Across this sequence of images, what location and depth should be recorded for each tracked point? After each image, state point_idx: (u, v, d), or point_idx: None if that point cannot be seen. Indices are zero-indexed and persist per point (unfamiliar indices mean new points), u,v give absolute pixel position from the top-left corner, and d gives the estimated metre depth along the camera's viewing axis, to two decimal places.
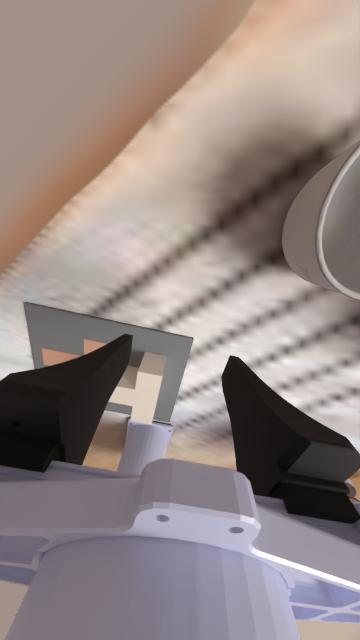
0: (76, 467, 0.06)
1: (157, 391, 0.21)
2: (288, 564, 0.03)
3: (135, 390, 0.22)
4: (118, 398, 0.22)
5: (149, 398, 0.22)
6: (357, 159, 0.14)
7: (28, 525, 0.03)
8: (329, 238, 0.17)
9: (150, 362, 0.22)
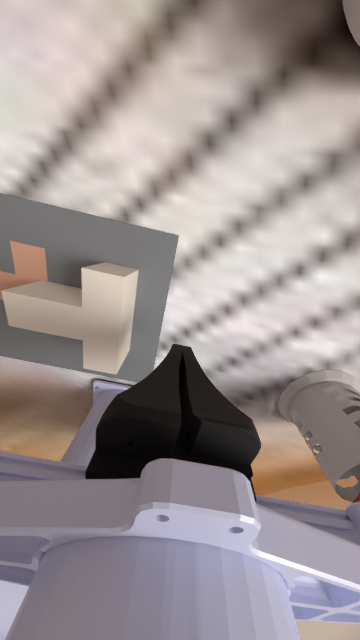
0: (76, 467, 0.06)
1: (118, 309, 0.13)
2: (288, 564, 0.03)
3: (83, 308, 0.13)
4: (58, 325, 0.14)
5: (107, 324, 0.14)
6: None
7: (28, 525, 0.03)
8: None
9: (109, 267, 0.14)
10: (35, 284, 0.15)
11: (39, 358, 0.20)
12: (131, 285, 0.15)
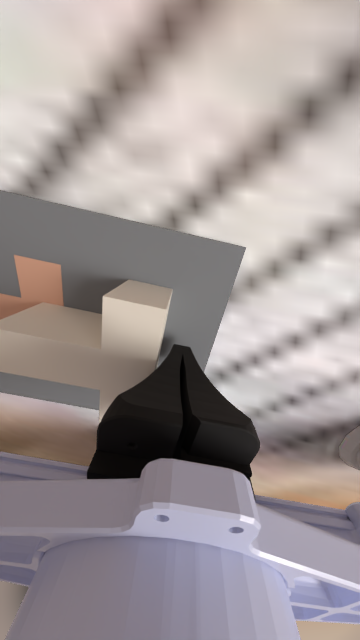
0: (76, 467, 0.06)
1: (153, 352, 0.09)
2: (288, 564, 0.03)
3: (102, 351, 0.09)
4: (66, 372, 0.10)
5: (136, 371, 0.10)
6: None
7: (28, 525, 0.03)
8: None
9: (138, 290, 0.10)
10: (35, 309, 0.11)
11: (50, 395, 0.17)
12: None
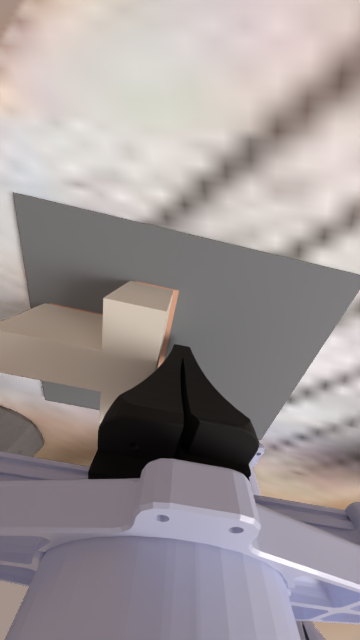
0: (76, 467, 0.06)
1: (154, 354, 0.09)
2: (288, 564, 0.03)
3: (103, 352, 0.09)
4: (67, 373, 0.10)
5: (136, 373, 0.10)
6: None
7: (28, 525, 0.03)
8: None
9: (139, 292, 0.10)
10: (36, 311, 0.11)
11: None
12: (167, 315, 0.10)
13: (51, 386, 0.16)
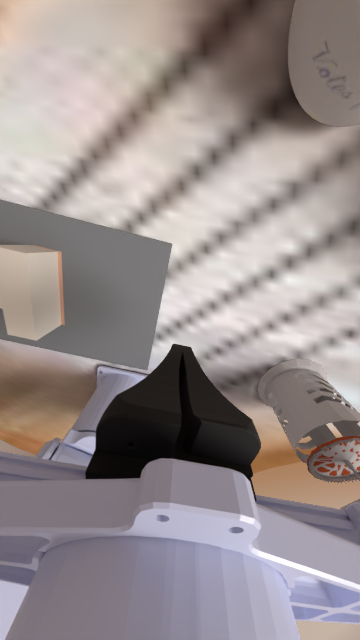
0: (76, 467, 0.06)
1: (26, 281, 0.16)
2: (288, 564, 0.03)
3: None
4: None
5: (20, 294, 0.16)
6: None
7: (28, 525, 0.03)
8: None
9: (23, 247, 0.17)
10: None
11: (51, 345, 0.24)
12: (44, 263, 0.17)
13: None
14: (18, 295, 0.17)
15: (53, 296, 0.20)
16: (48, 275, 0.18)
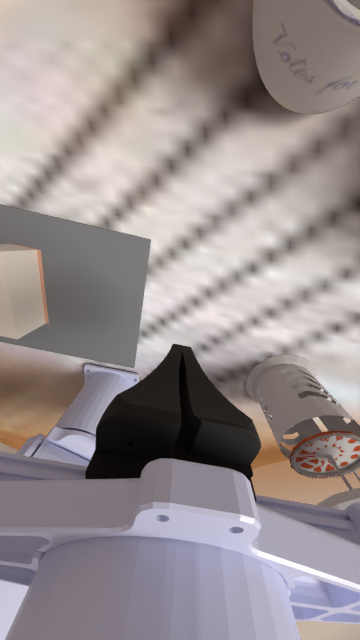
0: (76, 467, 0.06)
1: (3, 280, 0.16)
2: (288, 564, 0.03)
3: None
4: None
5: None
6: None
7: (28, 525, 0.03)
8: None
9: (0, 246, 0.17)
10: None
11: (37, 344, 0.24)
12: (22, 262, 0.17)
13: None
14: None
15: (34, 295, 0.20)
16: (27, 273, 0.18)
